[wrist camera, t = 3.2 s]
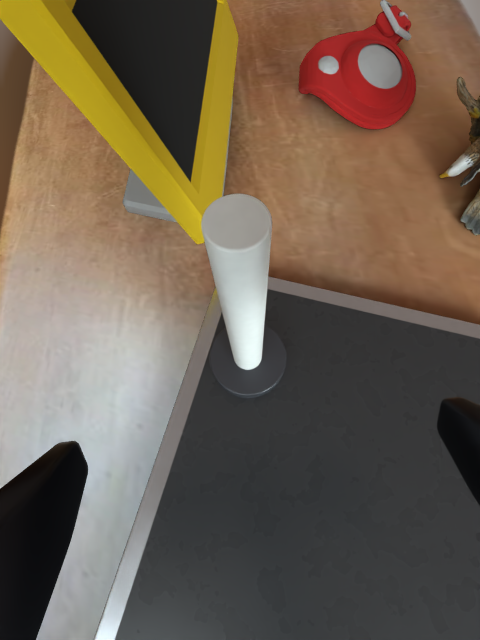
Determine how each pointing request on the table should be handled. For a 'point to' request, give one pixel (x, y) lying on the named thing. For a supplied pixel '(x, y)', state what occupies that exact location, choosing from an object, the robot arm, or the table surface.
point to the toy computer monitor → (145, 89)
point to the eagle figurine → (469, 157)
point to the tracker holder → (363, 71)
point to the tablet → (311, 488)
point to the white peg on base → (242, 295)
